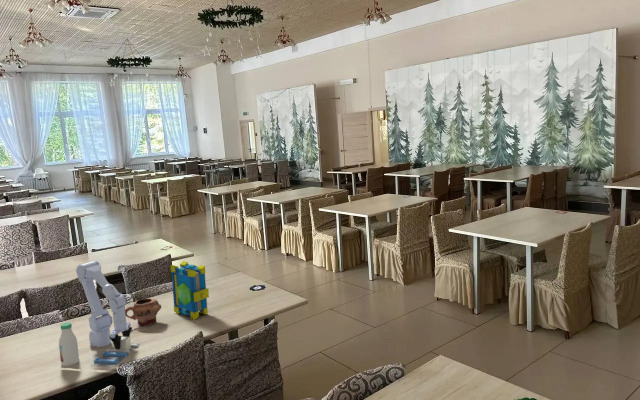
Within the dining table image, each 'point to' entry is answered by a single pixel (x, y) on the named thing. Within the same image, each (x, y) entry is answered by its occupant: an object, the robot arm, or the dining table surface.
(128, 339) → the tall cream block
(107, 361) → the board
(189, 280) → the decorative book
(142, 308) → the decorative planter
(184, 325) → the dining table surface
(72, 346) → the milk bottle
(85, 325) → the dining table surface
